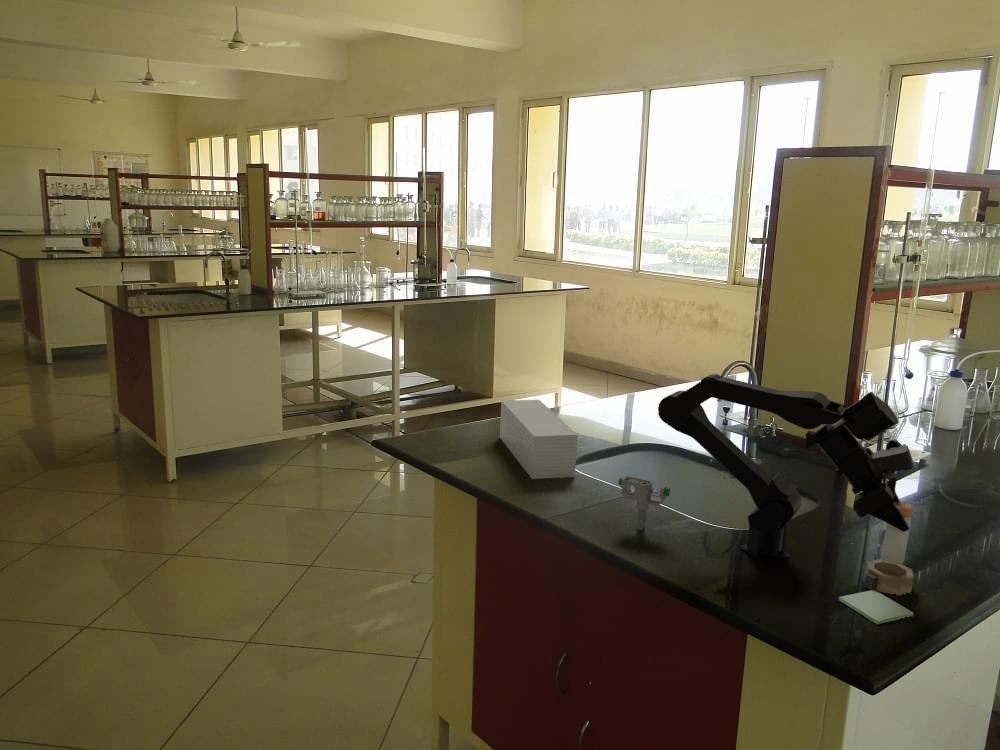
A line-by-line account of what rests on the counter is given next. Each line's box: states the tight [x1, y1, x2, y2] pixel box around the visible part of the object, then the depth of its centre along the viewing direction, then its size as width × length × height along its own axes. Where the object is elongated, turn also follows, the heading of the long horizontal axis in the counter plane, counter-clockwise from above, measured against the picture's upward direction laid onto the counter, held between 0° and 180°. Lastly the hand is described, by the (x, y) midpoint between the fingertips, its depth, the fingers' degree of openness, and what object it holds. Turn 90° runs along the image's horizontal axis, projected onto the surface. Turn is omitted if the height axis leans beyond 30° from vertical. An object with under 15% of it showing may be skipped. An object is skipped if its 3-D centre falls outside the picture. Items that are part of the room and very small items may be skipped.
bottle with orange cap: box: [880, 502, 914, 565], centre depth 136 cm, size 4×4×10 cm
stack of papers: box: [499, 399, 579, 480], centre depth 198 cm, size 32×11×11 cm, turn 14°
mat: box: [838, 590, 914, 625], centre depth 130 cm, size 8×8×1 cm
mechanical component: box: [618, 475, 671, 531], centre depth 156 cm, size 3×10×10 cm, turn 61°
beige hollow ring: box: [863, 558, 915, 596], centre depth 138 cm, size 8×7×3 cm
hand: (907, 526), depth 135 cm, fingers closed on bottle with orange cap, 4 cm apart
